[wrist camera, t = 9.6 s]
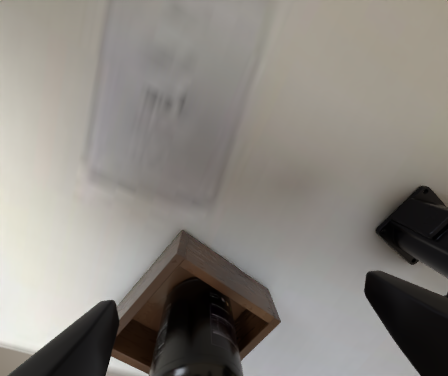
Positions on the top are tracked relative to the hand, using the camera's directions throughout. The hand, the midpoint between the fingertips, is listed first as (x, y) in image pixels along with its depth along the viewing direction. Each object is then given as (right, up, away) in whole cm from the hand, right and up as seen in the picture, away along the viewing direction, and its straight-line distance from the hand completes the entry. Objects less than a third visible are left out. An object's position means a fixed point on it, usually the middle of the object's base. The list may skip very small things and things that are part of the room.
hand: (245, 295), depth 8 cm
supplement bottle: (-3, -8, +15) cm, 17 cm away
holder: (-4, -8, +15) cm, 18 cm away
